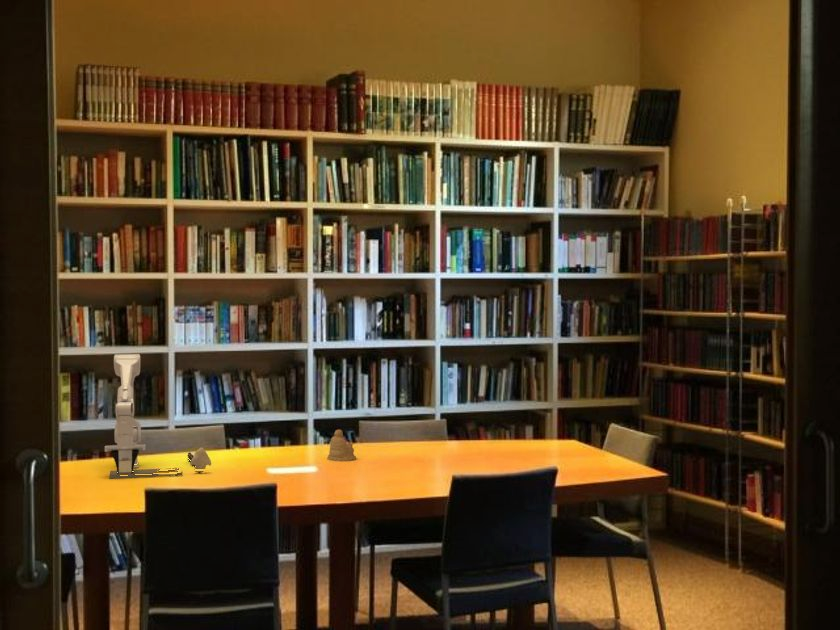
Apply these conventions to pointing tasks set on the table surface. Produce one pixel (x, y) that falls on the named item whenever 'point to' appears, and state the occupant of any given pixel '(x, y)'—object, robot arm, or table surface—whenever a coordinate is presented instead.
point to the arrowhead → (200, 459)
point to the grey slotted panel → (143, 471)
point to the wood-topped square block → (125, 465)
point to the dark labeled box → (191, 456)
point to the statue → (340, 449)
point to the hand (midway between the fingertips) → (125, 470)
